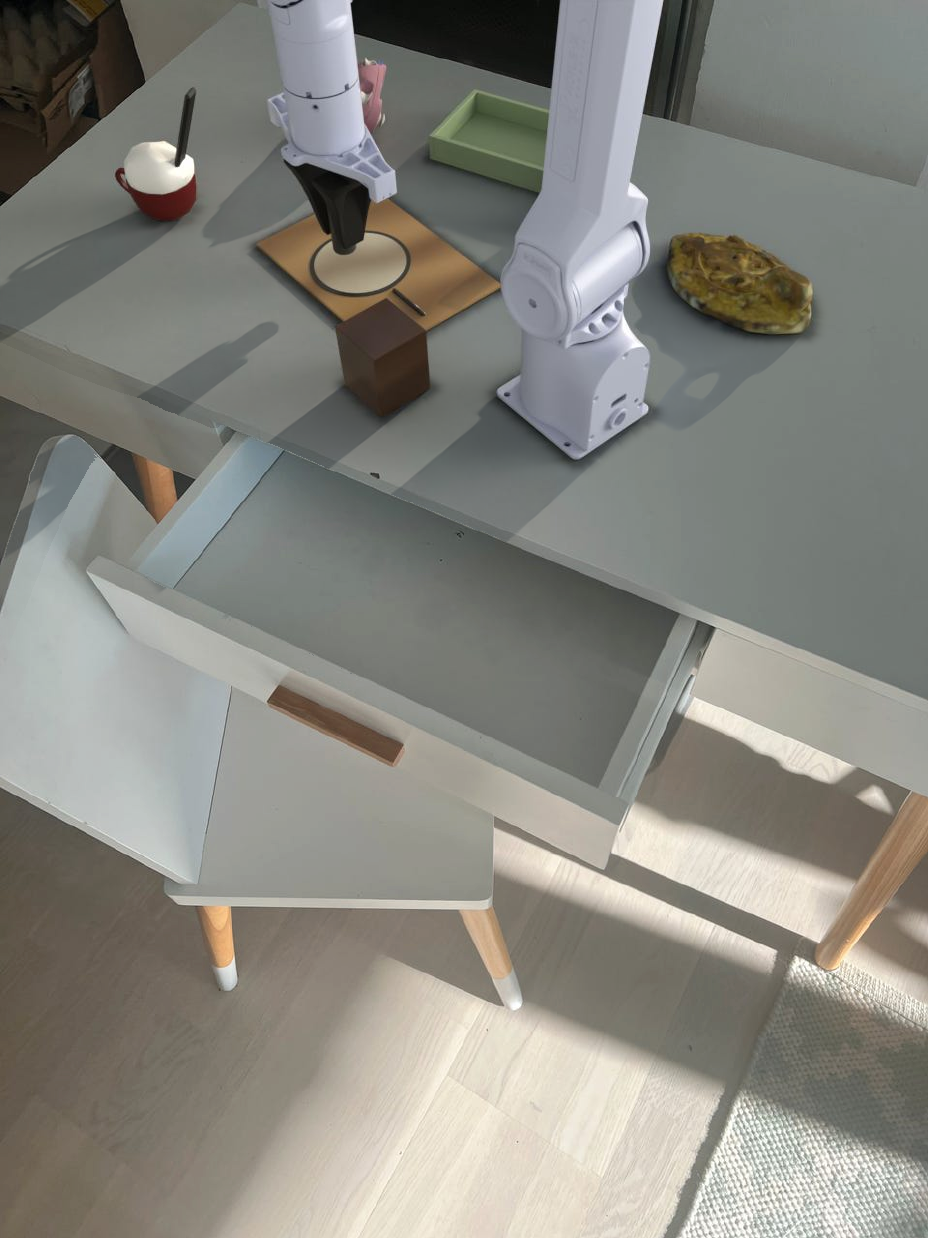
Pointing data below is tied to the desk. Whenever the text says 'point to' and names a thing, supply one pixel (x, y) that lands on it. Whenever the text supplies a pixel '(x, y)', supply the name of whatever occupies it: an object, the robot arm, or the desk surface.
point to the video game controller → (371, 92)
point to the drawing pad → (381, 267)
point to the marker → (336, 245)
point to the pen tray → (494, 139)
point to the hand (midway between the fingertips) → (343, 235)
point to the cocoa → (162, 173)
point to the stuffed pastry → (739, 283)
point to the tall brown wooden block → (384, 356)
